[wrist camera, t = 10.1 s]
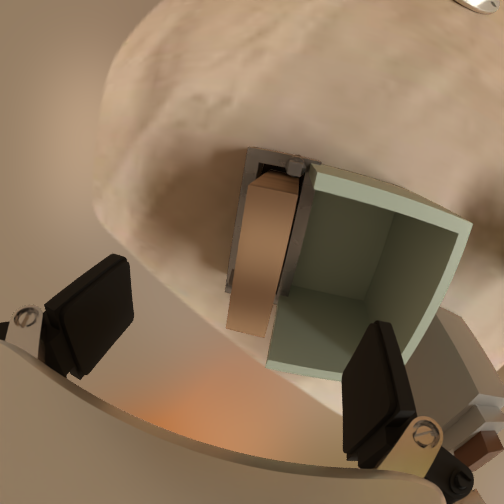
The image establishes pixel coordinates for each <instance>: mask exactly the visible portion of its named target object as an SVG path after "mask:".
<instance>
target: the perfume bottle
mask: <svg viewBox="0 0 504 504" xmlns="http://www.w3.org/2000/svg"><path fill="white" fill-rule="evenodd" d="M405 368H406V372H407V376H408V379H409V383H410V387H411V391H412V395H413V399H414V403H415V407H416V412H417V417H420V416H426V417H430V418H432V419H434V420H435V421H436V422H437V423H438V424H439V425H440V427H441V429H442V432H443V442H442V445H441V446H442V447H444V448H445V449H446V450H447V451H449V452H450V453H451V454H452V455H454V456H455V457H456V458H457V459H459V460H460V461H461V462H462V463H464V464H465V465H466V466H467V467H468V468H469V469H470V470H471V471H472V472H473V471H476V470H477V469H479V468H480V467H482V466H483V465H484V464H485V463H487V462H489V461H490V460H491V459H492V458H494V457H495V456H497V455H498V454H499V453H500V452H502V451H503V450H504V448H503V446H502V444H501V442H500V440H499V438H498V435H497V434H498V433H499V432H500V431H501V430H502V429H503V428H504V413H503V412H502V411H501V410H500V409H501V408H502V407H503V406H504V385H503V383H502V381H501V379H500V377H499V375H498V374H497V372H496V370H495V368H494V367H493V365H492V363H491V361H490V360H489V358H488V357H487V355H486V353H485V352H484V350H483V348H482V347H481V345H480V344H479V342H478V341H477V339H476V338H475V336H474V335H473V333H472V332H471V330H470V329H469V327H468V326H467V324H466V323H465V321H464V320H463V319H462V317H460V316H458V315H456V314H454V313H452V312H450V311H448V310H446V309H444V308H442V307H440V306H439V308H438V310H437V312H436V314H435V316H434V318H433V319H432V321H431V323H430V325H429V327H428V329H427V330H426V332H425V334H424V335H423V337H422V339H421V341H420V342H419V344H418V346H417V347H416V349H415V350H414V352H413V354H412V355H411V357H410V358H409V360H408V361H407V363H406V364H405Z"/></svg>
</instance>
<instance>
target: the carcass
mask: <svg viewBox="0 0 504 504" xmlns="http://www.w3.org/2000/svg"><path fill="white" fill-rule="evenodd" d="M309 176H310V179H311V182H312V185H313V189H315V194H314V199H313V203H312V207H311V211H310V216H309V220H308V224H307V228H306V232H305V236H304V240H303V244H302V248H301V251H300V255H299V259H298V263H297V267H296V270H295V274H294V278H293V281H292V285H291V289H290V292H289V296H288V297H287V296H283V295H280V296H279V299H278V303H277V309H276V315H275V320H274V325H273V331H272V336H271V341H270V346H269V352H268V357H267V362H266V367H265V368H268V369H273V370H277V371H282V372H287V373H292V374H297V375H303V376H308V377H314V378H320V379H327V380H334V381H341V382H342V374H343V371H344V369H345V368H346V366H347V364H348V363H349V361H350V359H351V357H352V356H353V354H354V352H355V350H356V348H357V346H358V345H359V343H360V341H361V339H362V337H363V335H364V333H365V331H366V329H367V327H368V326H369V324H370V323H374V322H375V321H376V320H379V321H384V322H389V323H391V324H392V327H393V330H394V333H395V336H396V339H397V342H398V345H399V348H400V352H401V355H402V358H403V362H404V365H405V364H406V363H407V361H408V360H409V358H410V357H411V355H412V354H413V352H414V350H415V349H416V347H417V346H418V344H419V342H420V341H421V339H422V337H423V335H424V334H425V332H426V330H427V329H428V327H429V325H430V323H431V321H432V319H433V318H434V316H435V314H436V312H437V310H438V308H439V306H440V304H441V302H442V300H443V298H444V296H445V294H446V292H447V290H448V287H449V285H450V283H451V281H452V279H453V276H454V274H455V272H456V269H457V267H458V264H459V262H460V259H461V257H462V254H463V252H464V249H465V246H466V243H467V241H468V238H469V235H470V232H471V229H472V226H473V223H471V222H469V221H468V220H466V219H464V218H462V217H461V216H459V215H457V214H455V213H453V212H451V211H450V210H448V209H446V208H444V207H442V206H440V205H438V204H436V203H434V202H432V201H430V200H428V199H426V198H424V197H422V196H420V195H418V194H416V193H413V192H411V191H409V190H407V189H404V188H401V187H399V186H396V185H393V184H389V183H386V182H383V181H380V180H377V179H374V178H370V177H367V176H364V175H360V174H357V173H353V172H350V171H346V170H342V169H339V168H335V167H331V166H327V165H323V164H321V165H317V164H313V163H311V165H310V170H309Z"/></svg>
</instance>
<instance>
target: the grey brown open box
mask: <svg viewBox="0 0 504 504" xmlns="http://www.w3.org/2000/svg"><path fill="white" fill-rule="evenodd" d="M264 163H265V164H270V165H275V166H280V167H285V169H286V172H287V174H289V175H290V176H292V177H300V176H301V175H303V174H304V176H303V181H302V185H301V190H300V195H299V199H298V204H297V208H296V212H295V217H294V221H293V226H292V230H291V234H290V239H289V243H288V247H287V251H286V255H285V259H284V264H283V268H282V272H281V276H280V279H279V282H278V286H277V290H276V294H275V298H274V302H273V304H276V305H277V303H278V299H279V296H280V295H283V296H287V297H288V296H289V292H290V289H291V285H292V281H293V278H294V274H295V270H296V267H297V263H298V259H299V255H300V251H301V248H302V244H303V240H304V236H305V232H306V228H307V224H308V220H309V216H310V211H311V207H312V203H313V199H314V194H315V189H313V185H312V182H311V179H310V176H309V170H310V165H311V163H313V164H317V165H321V163H322V162H321V161H319V160H315V159H310V158H306V157H302V156H300V155H293V154H288V153H283V152H278V151H273V150H268V149H262V148H257V147H248V150H247V156H246V161H245V167H244V173H243V179H242V185H241V191H240V197H239V203H238V209H237V215H236V221H235V228H234V234H233V240H232V247H231V253H230V260H229V267H228V273H227V280H226V287H225V292H227V293H230V294H231V290H232V285H229V277H230V274H231V271H232V269H235V264H236V258H237V251H238V245H239V239H240V232H241V226H242V220H243V214H244V208H245V202H246V196H247V190H248V185H249V184H250V183H252V182H253V181H255V180H256V179H257V178H259V177H260V176H261V175H262V170H263V164H264Z"/></svg>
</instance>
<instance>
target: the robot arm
mask: <svg viewBox="0 0 504 504" xmlns="http://www.w3.org/2000/svg"><path fill="white" fill-rule="evenodd" d="M455 1H457V2H458V3H460V4H462V5H463V6H465V7H467V8H469V9H471V10H473V11H476V12H478V13H482V14H491V13H494V12H496V11H497V10H498V9H499V6H500V2H499V0H455ZM44 306H45V309H46V311H45V312H44V313H43V312H42V310H41V308H39V307H38V306H35V305H25V306H22V307H20V308H19V309H17V310H16V311H15V312H14V313H13V314H12V316H11V319H10V322H3V323H0V504H486V503H485V502H484V500H483V499H482V497H481V496H480V494H479V493H478V491H477V489H474V490H472V487H473V484H474V477H473V474H472V471H471V470H470V469H469V468H468V467H467V466H466V465H465V464H464V463H462V462H461V461H460V460H459V459H457V458H456V457H455V456H454V455H452V454H451V453H450V452H449V451H447V450H446V449H445V448H444V447H442V446H441V445H442V442H443V432H442V429H441V427H440V425H439V424H438V423H437V422H436V421H435V420H434V419H432V418H430V417H426V416H420V417H417V412H416V407H415V403H414V399H413V395H412V391H411V387H410V383H409V379H408V376H407V372H406V368H405V365H404V362H403V358H402V355H401V352H400V348H399V345H398V342H397V339H396V336H395V333H394V330H393V327H392V324H391V323H389V322H384V321H379V320H376V321H375V322H374V323H370V324H369V326H368V327H367V329H366V331H365V333H364V335H363V337H362V339H361V341H360V343H359V345H358V346H357V348H356V350H355V352H354V354H353V356H352V357H351V359H350V361H349V363H348V364H347V366H346V368H345V369H344V371H343V374H342V404H343V452H344V453H347V461H358V467H359V468H336V467H324V466H314V465H306V464H296V463H290V462H284V461H277V460H272V459H266V458H261V457H255V456H251V455H247V454H243V453H238V452H234V451H230V450H226V449H223V448H219V447H216V446H212V445H209V444H206V443H202V442H199V441H196V440H193V439H190V438H187V437H185V436H182V435H179V434H176V433H174V432H171V431H168V430H166V429H163V428H161V427H158V426H156V425H153V424H151V423H149V422H146V421H144V420H142V419H140V418H138V417H135V416H133V415H131V414H129V413H127V412H125V411H122V410H121V409H119V408H117V407H115V406H113V405H111V404H109V403H107V402H105V401H103V400H101V399H99V398H98V397H96V396H94V395H92V394H91V393H89V392H87V391H86V390H84V389H82V388H81V387H79V386H77V385H76V384H74V383H73V382H71V381H69V380H68V379H67V374H68V373H69V372H70V374H71V375H73V376H75V377H76V378H78V379H79V380H81V379H82V377H83V376H84V375H88V374H89V373H90V372H91V371H92V369H93V368H94V367H95V366H96V364H97V363H98V362H99V361H100V360H101V358H102V357H103V356H104V355H105V354H106V352H107V351H108V350H109V349H110V348H111V346H112V345H113V344H114V343H115V341H116V340H117V339H118V338H119V337H120V336H121V335H122V333H123V332H124V331H125V330H126V329H127V328H128V326H129V325H130V324H131V323H132V321H133V318H134V310H133V302H132V290H131V278H130V265H129V262H127V259H126V258H125V257H123V256H120V255H116V254H111V255H109V256H108V257H106V258H105V259H104V260H102V261H101V262H99V263H98V264H97V265H95V266H94V267H92V268H91V269H90V270H88V271H87V272H86V273H84V274H83V275H82V276H80V277H79V278H77V279H76V280H75V281H74V282H72V283H71V284H70V285H68V286H67V287H66V288H65V289H63V290H62V291H61V292H59V293H58V294H57V295H55V296H54V297H53V298H52V299H51V300H49V301H48V302H47V303H46V304H44Z"/></svg>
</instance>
